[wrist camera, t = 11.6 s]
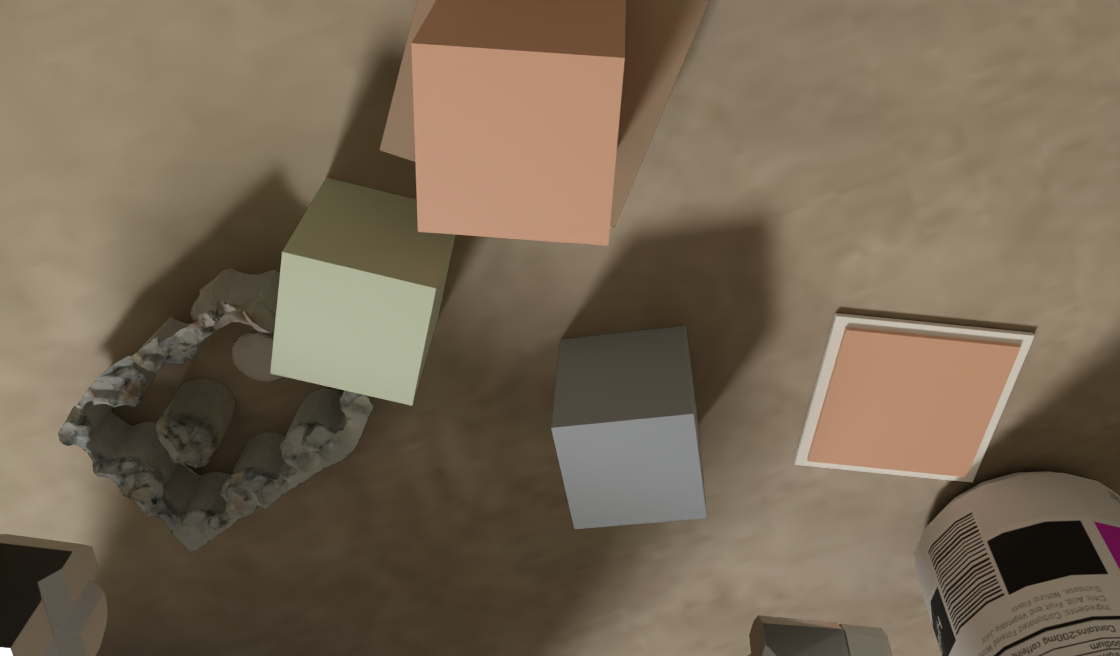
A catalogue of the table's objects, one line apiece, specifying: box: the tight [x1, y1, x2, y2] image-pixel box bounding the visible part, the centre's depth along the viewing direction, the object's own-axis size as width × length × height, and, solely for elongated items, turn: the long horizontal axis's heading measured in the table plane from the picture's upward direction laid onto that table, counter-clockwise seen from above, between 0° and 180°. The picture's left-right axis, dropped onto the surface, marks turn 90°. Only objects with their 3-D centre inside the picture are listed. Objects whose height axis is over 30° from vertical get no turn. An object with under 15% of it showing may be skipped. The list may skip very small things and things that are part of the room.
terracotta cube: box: [411, 0, 626, 246], centre depth 24 cm, size 4×4×5 cm
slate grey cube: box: [551, 326, 707, 529], centre depth 34 cm, size 4×4×5 cm
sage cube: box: [270, 178, 456, 406], centre depth 32 cm, size 4×4×5 cm
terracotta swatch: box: [794, 313, 1034, 483], centre depth 36 cm, size 7×7×1 cm
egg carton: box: [58, 268, 373, 552], centre depth 36 cm, size 11×8×4 cm
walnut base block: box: [380, 0, 709, 228], centre depth 28 cm, size 7×7×4 cm
